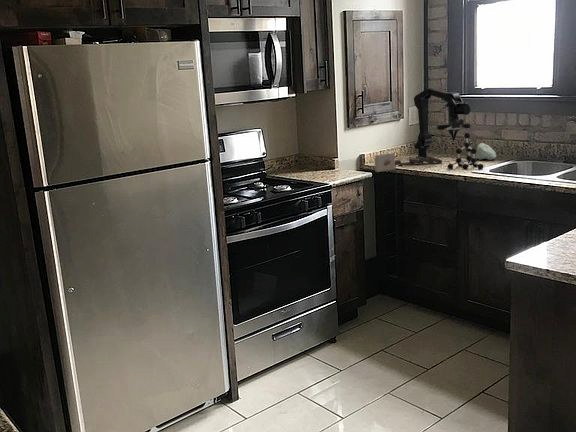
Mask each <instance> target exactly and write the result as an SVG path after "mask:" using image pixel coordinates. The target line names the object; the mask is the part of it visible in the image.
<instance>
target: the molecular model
mask: <svg viewBox="0 0 576 432" xmlns="http://www.w3.org/2000/svg"><path fill="white" fill-rule="evenodd" d="M463 136H464V138H465V139H466V140H465V141H466V142H465V143H464V146H462V147H461V148H459V147H458V148H456V149H455V153H456V154H457V158H456V159H455V162H453V163H448V164H447V166H446V167H447V169H449V170H453V168H454V166H455V165H456V164H457V166H458V167H460V168H462V169H463V170H467V169H469V166H470V165H471V166H472V167H474V168H477V169H478V170H479V171H480V170H483V169H484V164H483V163H479V162H478V159H476V158H477V157H476V155H475V154H476V153H477V147H476V148H475V147H472V146H471V144H470V142H469V138H470V137H471V134H470V132H465V133H464V135H463ZM464 149H465V150H466V152H467V156H465V157H466V158H465V160H462V158H461V157H460V156H461V153H463V150H464ZM471 154H472V156H471Z"/></svg>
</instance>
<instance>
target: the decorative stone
mask: <svg viewBox="0 0 576 432" xmlns="http://www.w3.org/2000/svg"><path fill="white" fill-rule="evenodd" d="M476 150H477V152H476V153H475V154H476V157H475V158H476V159H477V160H480V161H481V160H486V161H487V160H488V161H493V160H494V159H496V158H497V153H496V151H495V150H494V149H493V148H492V147H491V146H490V145H488V144H486V143H484V142H480V143H479V144H478V145H477V146H476Z"/></svg>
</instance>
